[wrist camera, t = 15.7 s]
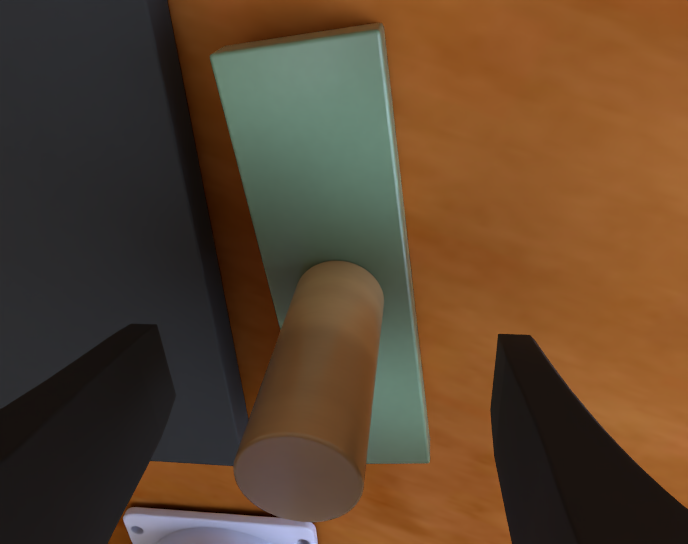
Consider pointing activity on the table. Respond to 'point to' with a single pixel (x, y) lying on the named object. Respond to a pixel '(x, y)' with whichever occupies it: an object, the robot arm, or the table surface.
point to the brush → (325, 268)
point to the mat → (109, 212)
